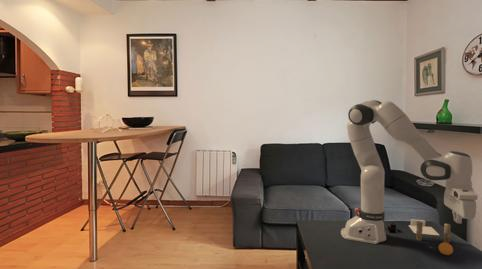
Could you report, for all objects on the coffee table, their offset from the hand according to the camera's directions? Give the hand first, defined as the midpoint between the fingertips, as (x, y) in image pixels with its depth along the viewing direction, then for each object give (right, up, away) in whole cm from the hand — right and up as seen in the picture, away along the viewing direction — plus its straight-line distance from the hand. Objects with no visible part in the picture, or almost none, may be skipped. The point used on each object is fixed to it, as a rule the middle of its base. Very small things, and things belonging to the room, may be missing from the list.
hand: (457, 222), depth 125 cm
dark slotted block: (-8, -17, +40) cm, 44 cm away
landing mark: (+10, -16, +40) cm, 44 cm away
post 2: (+12, -17, +24) cm, 32 cm away
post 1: (0, -17, +28) cm, 32 cm away
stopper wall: (+11, -16, +47) cm, 51 cm away
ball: (+2, -16, +11) cm, 19 cm away
